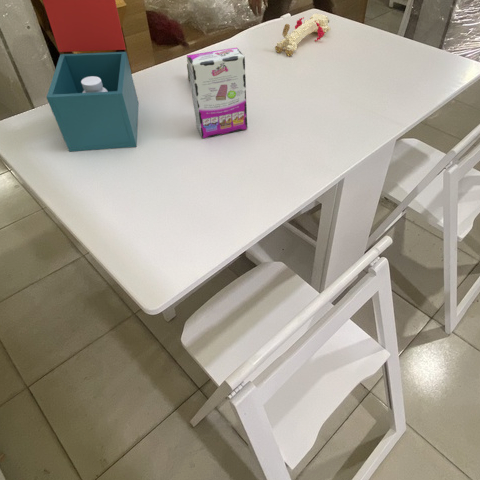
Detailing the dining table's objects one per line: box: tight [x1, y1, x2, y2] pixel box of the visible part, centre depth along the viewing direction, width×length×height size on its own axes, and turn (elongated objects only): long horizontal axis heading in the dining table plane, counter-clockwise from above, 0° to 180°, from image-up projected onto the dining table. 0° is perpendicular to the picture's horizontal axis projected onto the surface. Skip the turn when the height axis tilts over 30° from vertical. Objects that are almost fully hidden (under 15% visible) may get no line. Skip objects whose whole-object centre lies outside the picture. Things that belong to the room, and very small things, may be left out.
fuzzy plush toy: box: [274, 12, 332, 58], centre depth 123 cm, size 10×9×25 cm
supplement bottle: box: [81, 76, 108, 93], centre depth 87 cm, size 5×5×10 cm
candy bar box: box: [186, 47, 248, 139], centre depth 87 cm, size 11×5×16 cm, turn 114°
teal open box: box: [46, 51, 139, 152], centre depth 88 cm, size 19×14×12 cm
